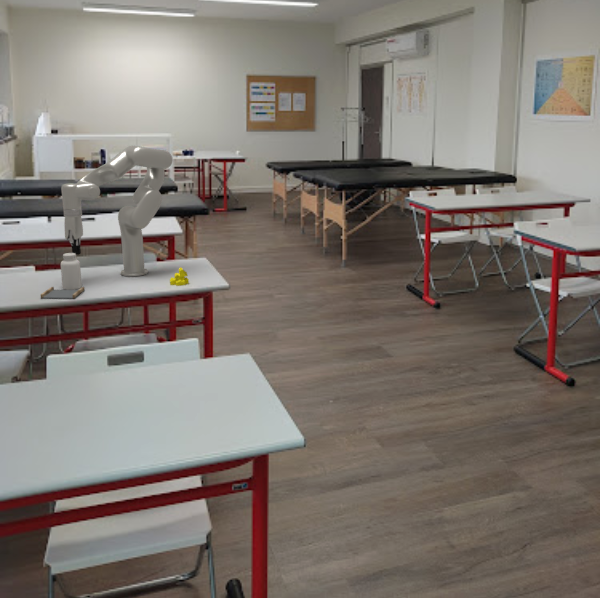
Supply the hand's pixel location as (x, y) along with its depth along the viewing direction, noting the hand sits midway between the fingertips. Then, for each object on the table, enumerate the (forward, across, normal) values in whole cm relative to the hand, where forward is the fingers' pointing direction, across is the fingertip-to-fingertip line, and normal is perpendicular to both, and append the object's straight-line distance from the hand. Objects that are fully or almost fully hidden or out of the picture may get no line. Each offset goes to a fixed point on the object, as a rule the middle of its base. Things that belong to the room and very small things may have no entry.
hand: (76, 254), depth 300 cm
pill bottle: (+13, +9, 0) cm, 16 cm away
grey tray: (+13, +20, 0) cm, 24 cm away
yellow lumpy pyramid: (+13, +1, +45) cm, 47 cm away
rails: (+13, +20, 0) cm, 24 cm away
